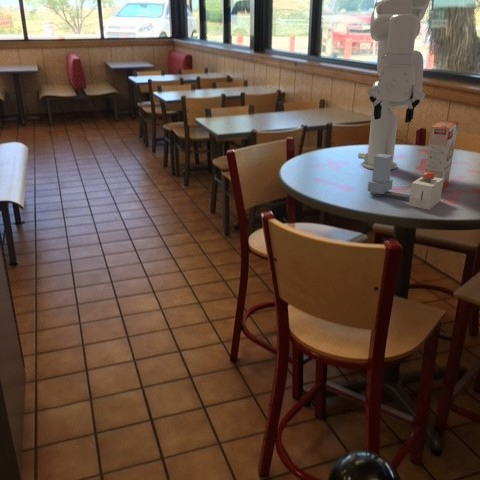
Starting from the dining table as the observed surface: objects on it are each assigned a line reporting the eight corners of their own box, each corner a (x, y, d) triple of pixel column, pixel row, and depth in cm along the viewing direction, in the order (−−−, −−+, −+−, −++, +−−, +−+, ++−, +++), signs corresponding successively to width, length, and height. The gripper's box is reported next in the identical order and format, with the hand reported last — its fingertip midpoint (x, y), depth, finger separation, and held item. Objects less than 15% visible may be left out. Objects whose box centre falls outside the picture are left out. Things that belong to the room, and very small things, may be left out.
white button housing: (408, 205, 152) (411, 183, 149) (420, 197, 160) (423, 175, 157) (428, 210, 149) (431, 186, 146) (440, 200, 156) (443, 178, 153)
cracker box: (440, 193, 163) (450, 127, 155) (421, 191, 166) (430, 125, 158) (449, 183, 174) (459, 120, 166) (431, 180, 177) (440, 119, 169)
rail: (370, 193, 163) (370, 190, 163) (373, 192, 165) (373, 188, 164) (413, 202, 155) (413, 198, 155) (416, 200, 157) (416, 196, 156)
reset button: (419, 183, 151) (421, 173, 150) (423, 180, 154) (425, 171, 153) (431, 185, 150) (432, 175, 148) (435, 182, 152) (436, 172, 151)
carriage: (367, 191, 161) (370, 156, 156) (377, 186, 166) (380, 152, 162) (382, 194, 158) (386, 158, 154) (391, 188, 163) (395, 154, 159)
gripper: (365, 60, 150) (360, 119, 157) (423, 61, 140) (416, 125, 147) (376, 59, 156) (371, 116, 162) (433, 60, 146) (425, 121, 152)
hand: (392, 120), depth 155 cm, fingers open, 9 cm apart
